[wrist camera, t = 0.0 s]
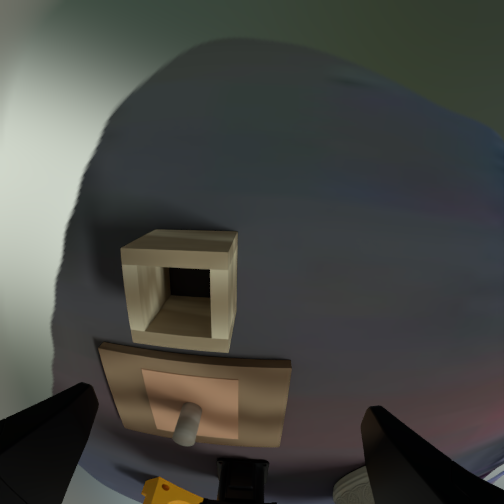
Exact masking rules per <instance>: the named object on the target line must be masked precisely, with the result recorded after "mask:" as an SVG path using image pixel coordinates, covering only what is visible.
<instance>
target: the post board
mask: <svg viewBox="0 0 504 504" xmlns="http://www.w3.org/2000/svg"><path fill="white" fill-rule="evenodd" d="M98 349H99V353H100V357H101V360H102V364H103V367H104V371H105V374H106V377H107V380H108V383H109V387H110V390H111V393H112V395H113V398H114V401H115V404H116V407H117V409H118V412H119V415H120V417H121V420H122V422H123V425H124V427H125V428H127V429H131V430H135V431H139V432H143V433H148V434H153V435H158V436H163V437H168V438H173V440H174V441H175V442H176V443H177V444H179V445H182V446H192V445H194V443H195V442H201V443H209V444H219V445H231V446H247V447H279V446H280V440H281V434H282V428H283V423H284V416H285V410H286V404H287V397H288V391H289V384H290V377H291V370H292V367H291V360H261V359H239V358H223V357H210V356H199V355H189V354H179V353H171V352H163V351H156V350H148V349H142V348H135V347H129V346H123V345H118V344H112V343H107V342H103V343H102V344H101V345H100V347H99V348H98Z"/></svg>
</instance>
